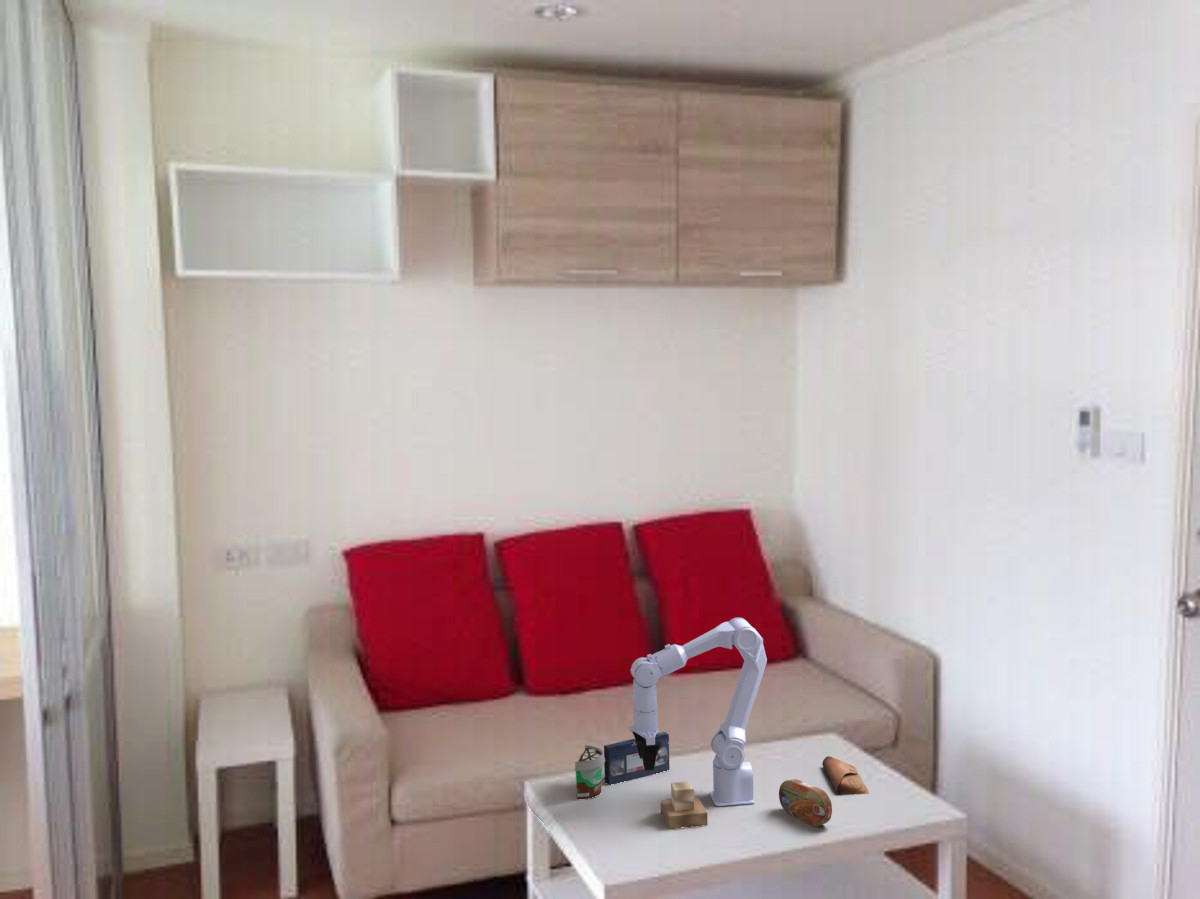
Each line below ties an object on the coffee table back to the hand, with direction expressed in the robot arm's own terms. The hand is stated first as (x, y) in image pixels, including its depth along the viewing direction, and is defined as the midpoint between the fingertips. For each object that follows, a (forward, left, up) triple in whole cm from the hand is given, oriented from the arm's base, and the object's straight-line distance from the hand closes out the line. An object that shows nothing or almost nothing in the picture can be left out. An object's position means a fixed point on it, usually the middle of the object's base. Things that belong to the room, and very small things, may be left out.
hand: (646, 763), depth 267 cm
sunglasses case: (-52, -6, -11) cm, 53 cm away
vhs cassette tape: (0, -18, -11) cm, 21 cm away
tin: (-35, +14, -11) cm, 39 cm away
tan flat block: (-7, +9, -11) cm, 16 cm away
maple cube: (-7, +9, -7) cm, 14 cm away
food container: (+12, -10, -11) cm, 19 cm away
